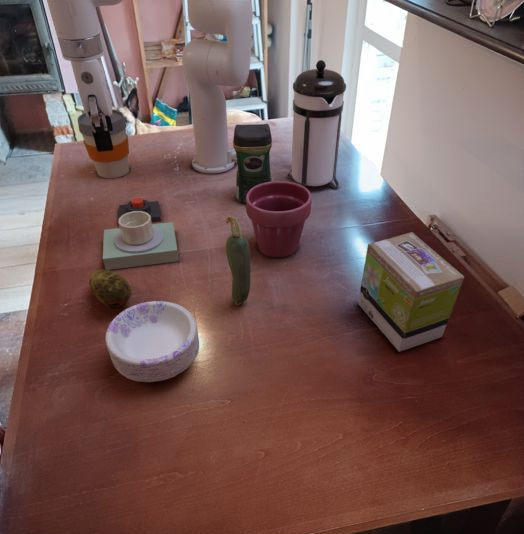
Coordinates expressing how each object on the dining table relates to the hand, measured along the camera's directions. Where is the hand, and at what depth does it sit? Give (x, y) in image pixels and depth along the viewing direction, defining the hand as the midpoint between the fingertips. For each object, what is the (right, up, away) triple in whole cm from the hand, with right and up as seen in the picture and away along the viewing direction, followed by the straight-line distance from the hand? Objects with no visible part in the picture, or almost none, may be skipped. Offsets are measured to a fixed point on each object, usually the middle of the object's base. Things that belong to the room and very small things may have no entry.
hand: (105, 140), depth 99 cm
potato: (+2, -34, -2) cm, 34 cm away
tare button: (+2, -8, +20) cm, 21 cm away
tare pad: (+2, -10, +22) cm, 24 cm away
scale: (+5, -21, +11) cm, 24 cm away
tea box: (+59, -38, -7) cm, 71 cm away
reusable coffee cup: (-11, +8, +39) cm, 41 cm away
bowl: (+5, -18, +8) cm, 21 cm away
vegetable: (+28, -35, -3) cm, 45 cm away
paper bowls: (+14, -46, -14) cm, 50 cm away
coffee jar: (+30, -3, +28) cm, 41 cm away
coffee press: (+46, +4, +34) cm, 57 cm away
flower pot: (+36, -20, +11) cm, 43 cm away
